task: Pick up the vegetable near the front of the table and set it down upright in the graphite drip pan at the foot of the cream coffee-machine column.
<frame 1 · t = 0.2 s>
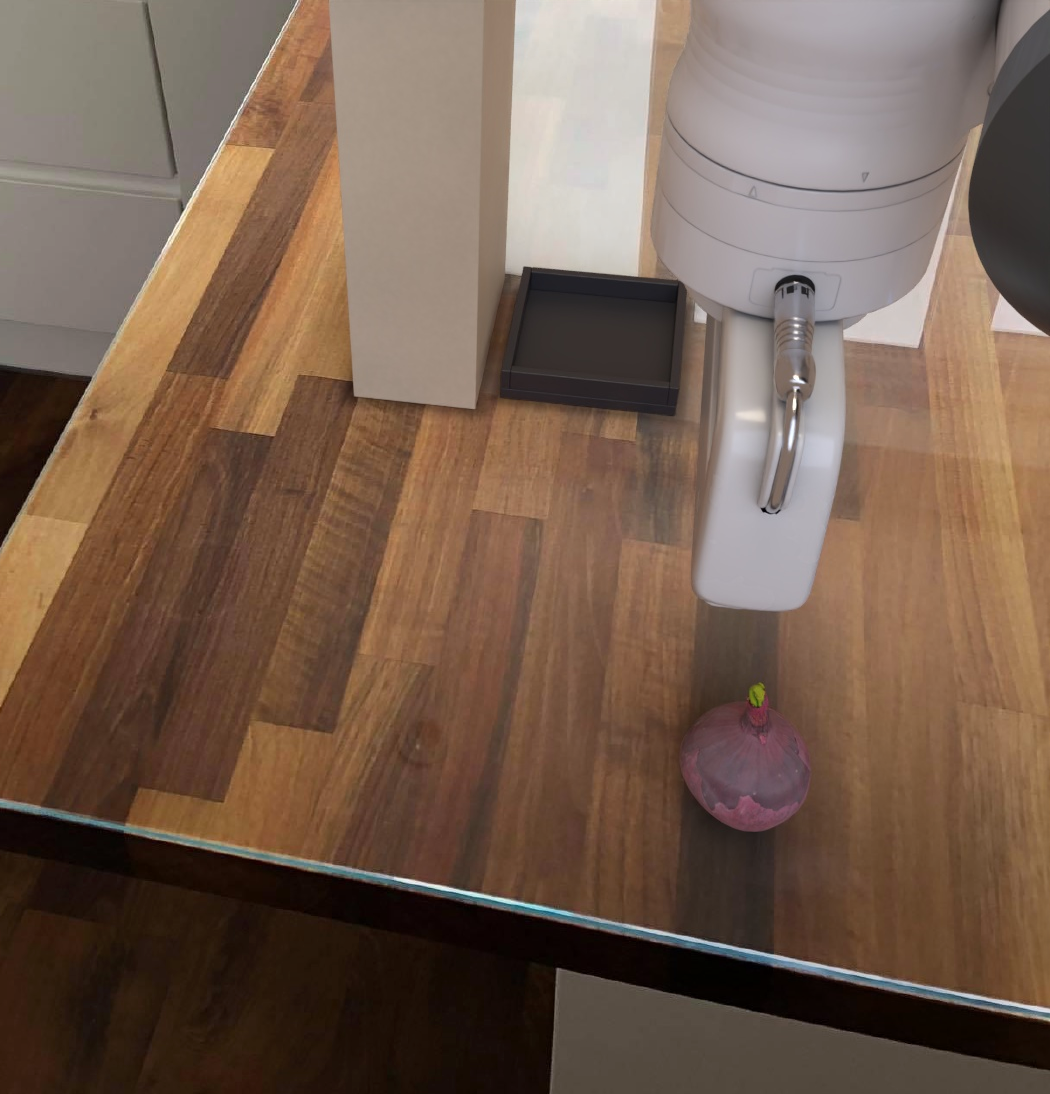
hand: (730, 501, 53), 21 cm above the counter, tool pointing down, fingers open, 8 cm apart
machine column: (432, 335, 94), on the counter
drip pan: (594, 351, 92), on the counter
vegetable: (732, 809, 68), on the counter
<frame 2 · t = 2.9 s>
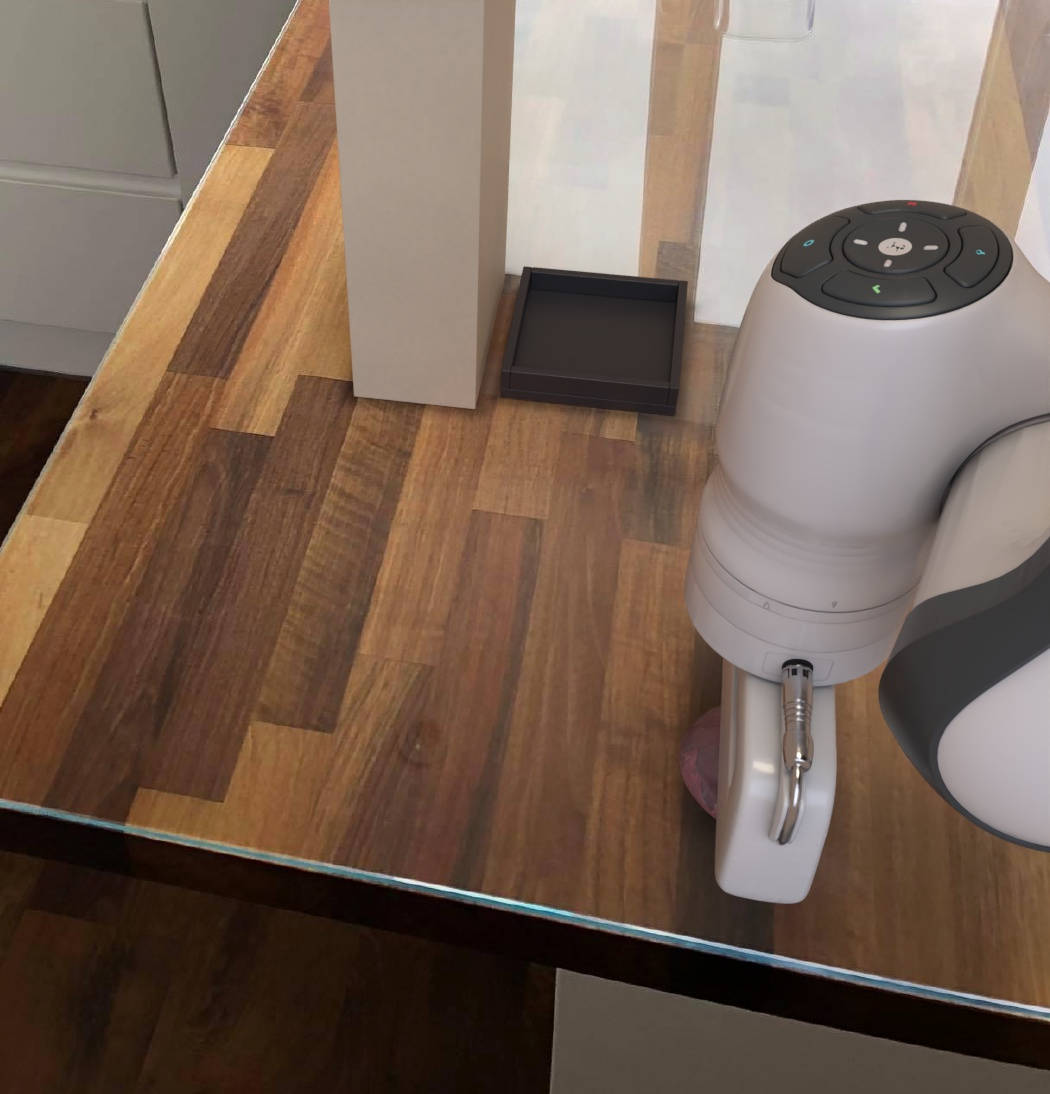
hand: (743, 766, 65), 4 cm above the counter, tool pointing down, fingers closed on vegetable, 6 cm apart
vegetable: (731, 809, 68), on the counter, touching gripper
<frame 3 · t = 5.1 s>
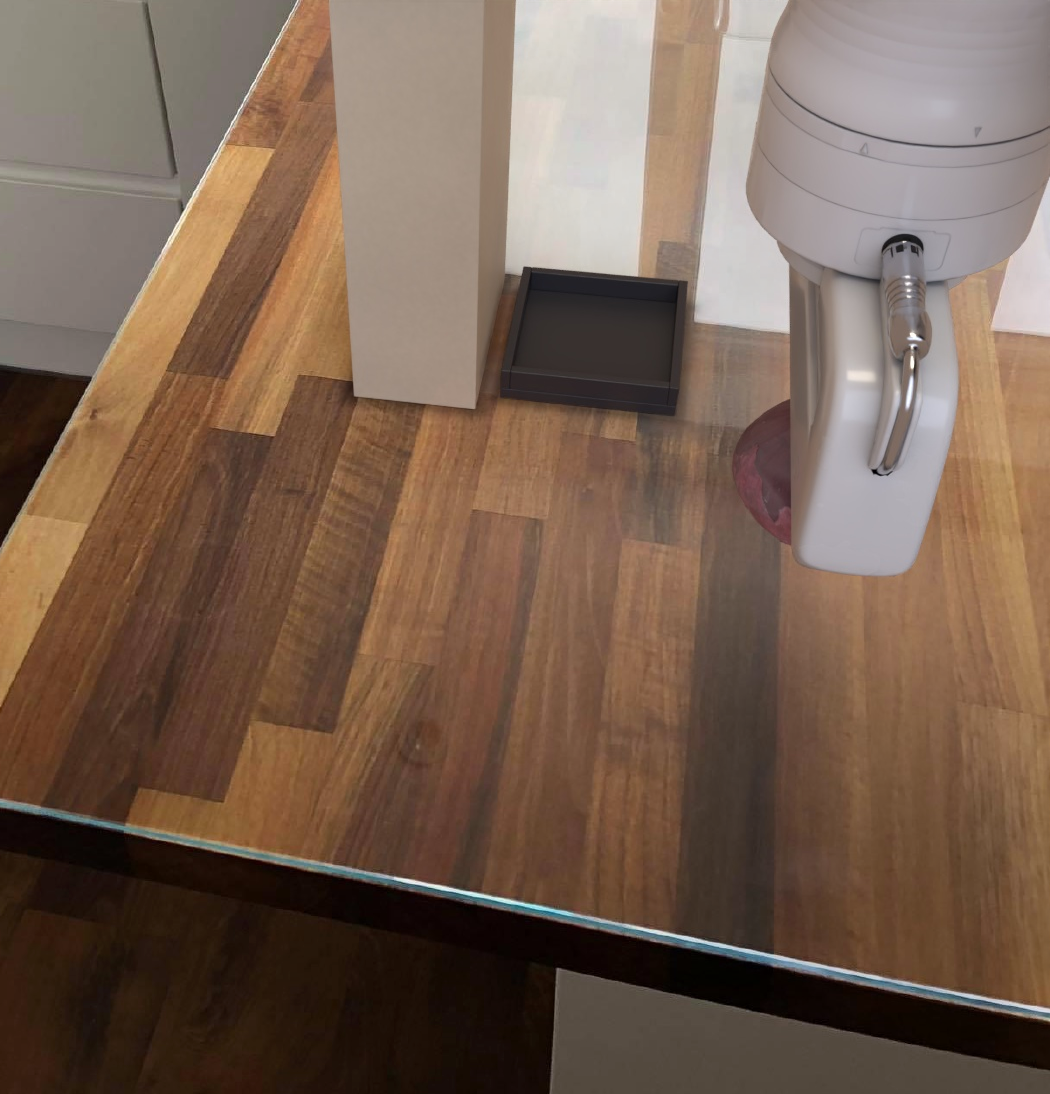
hand: (813, 473, 53), 22 cm above the counter, tool pointing down, fingers closed on vegetable, 6 cm apart
vegetable: (796, 542, 56), point 18 cm above the counter, touching gripper
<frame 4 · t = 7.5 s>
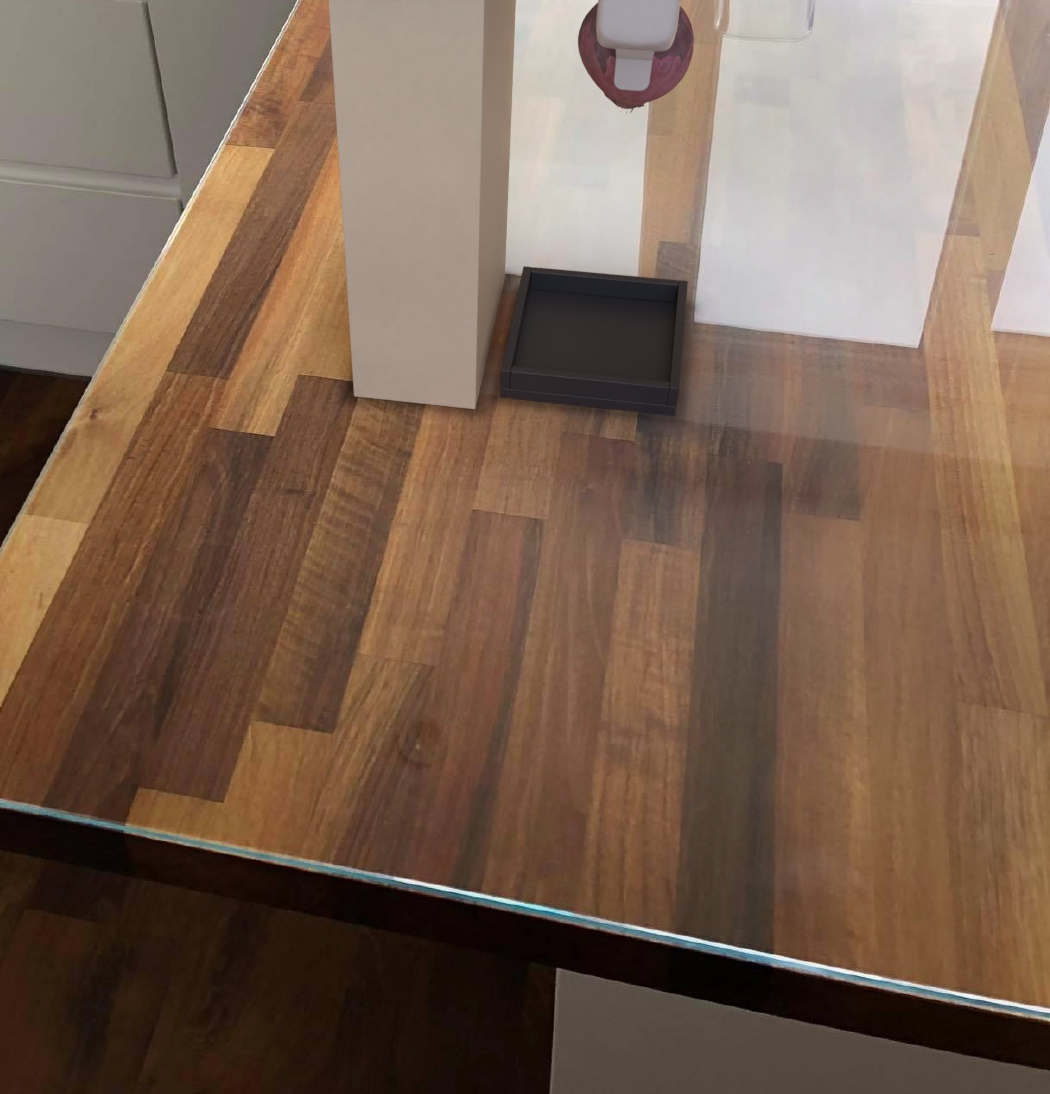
hand: (636, 46, 73), 23 cm above the counter, tool pointing down, fingers closed on vegetable, 6 cm apart
vegetable: (628, 112, 76), point 19 cm above the counter, touching gripper
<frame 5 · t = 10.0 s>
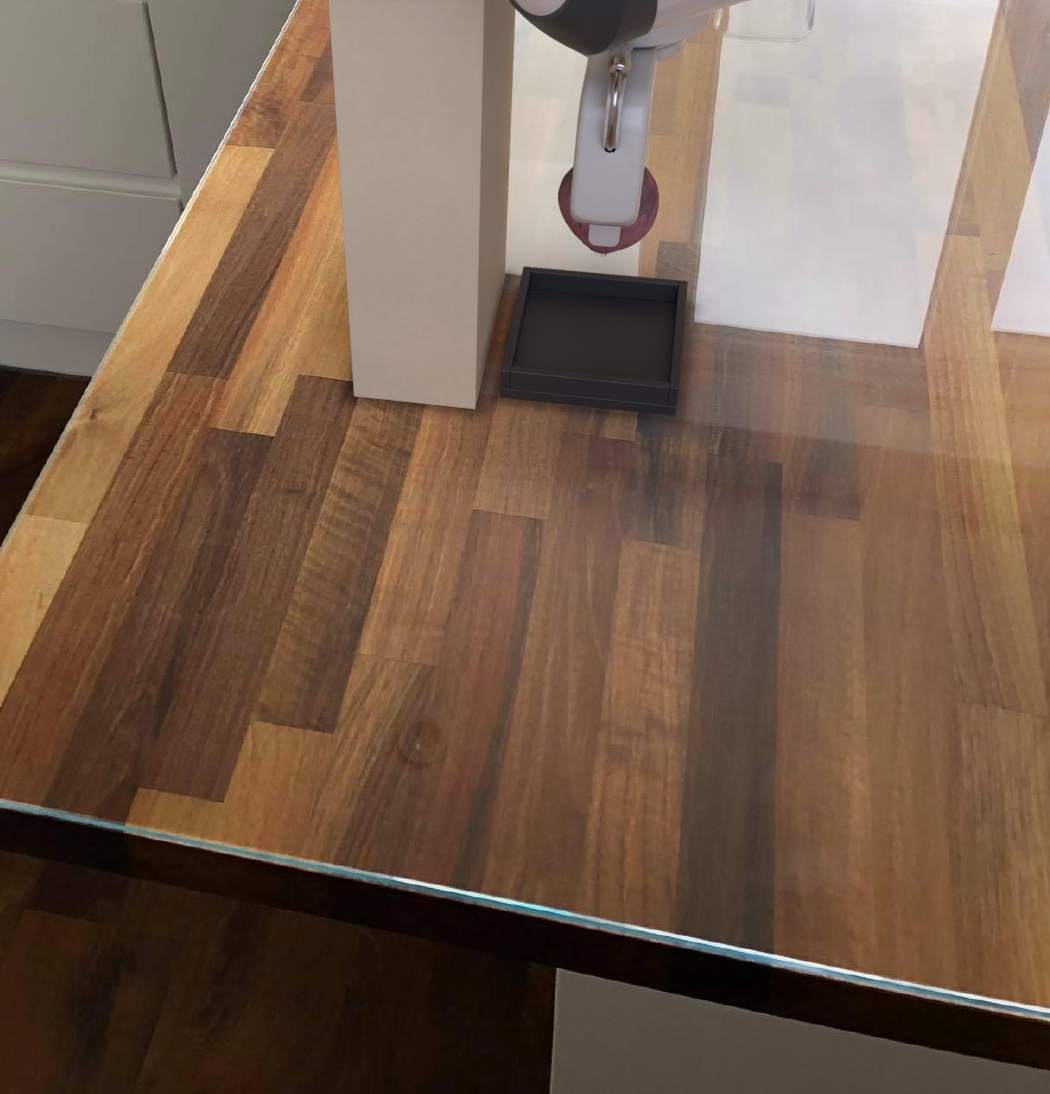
hand: (609, 202, 83), 12 cm above the counter, tool pointing down, fingers closed on vegetable, 6 cm apart
vegetable: (603, 255, 86), point 8 cm above the counter, touching gripper
when the fingers open (4 cm above the counter, at t = 12.2 s): vegetable stays where it is, resting on drip pan.
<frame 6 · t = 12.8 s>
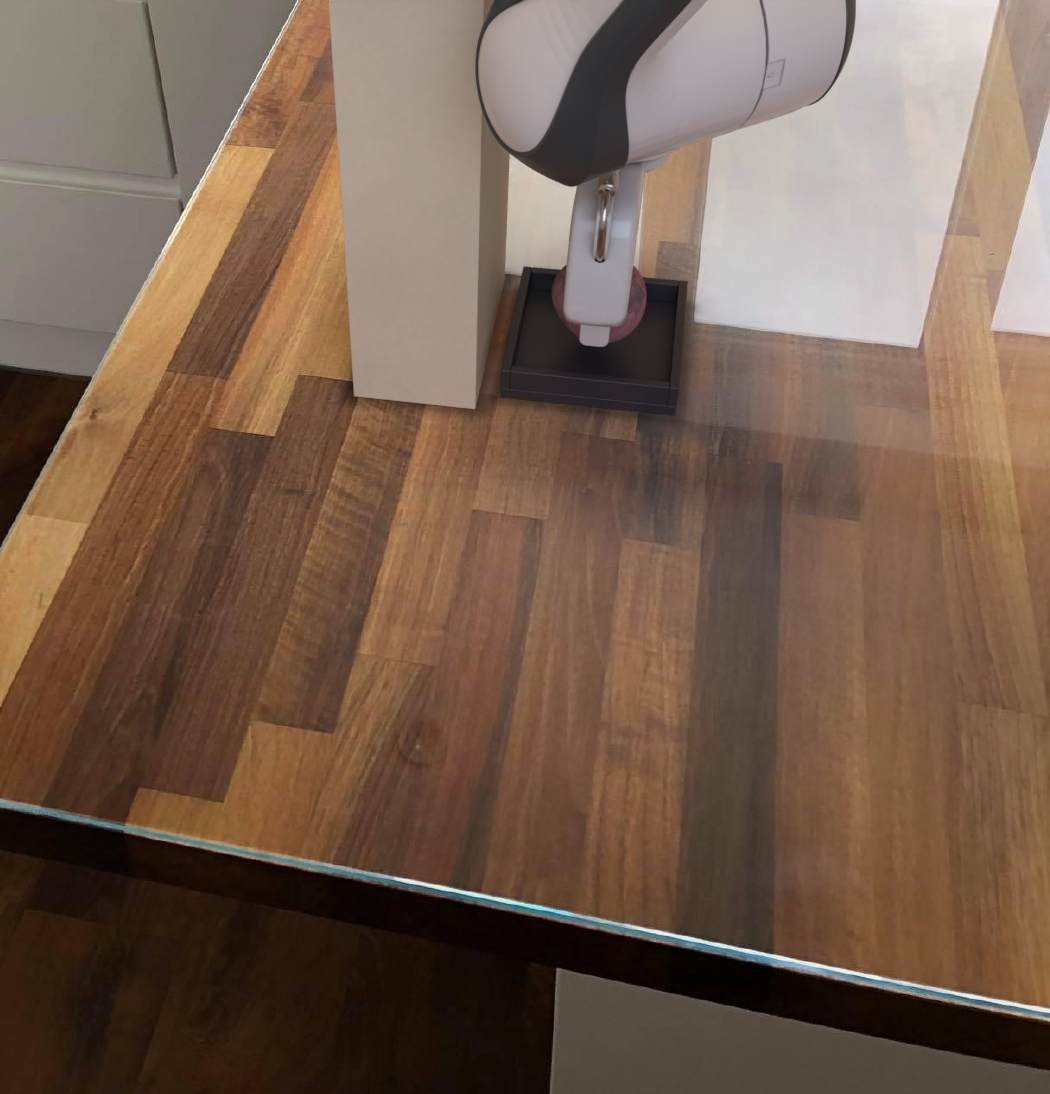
hand: (601, 292, 88), 5 cm above the counter, tool pointing down, fingers open, 8 cm apart
vegetable: (594, 345, 92), point 1 cm above the counter, touching drip pan
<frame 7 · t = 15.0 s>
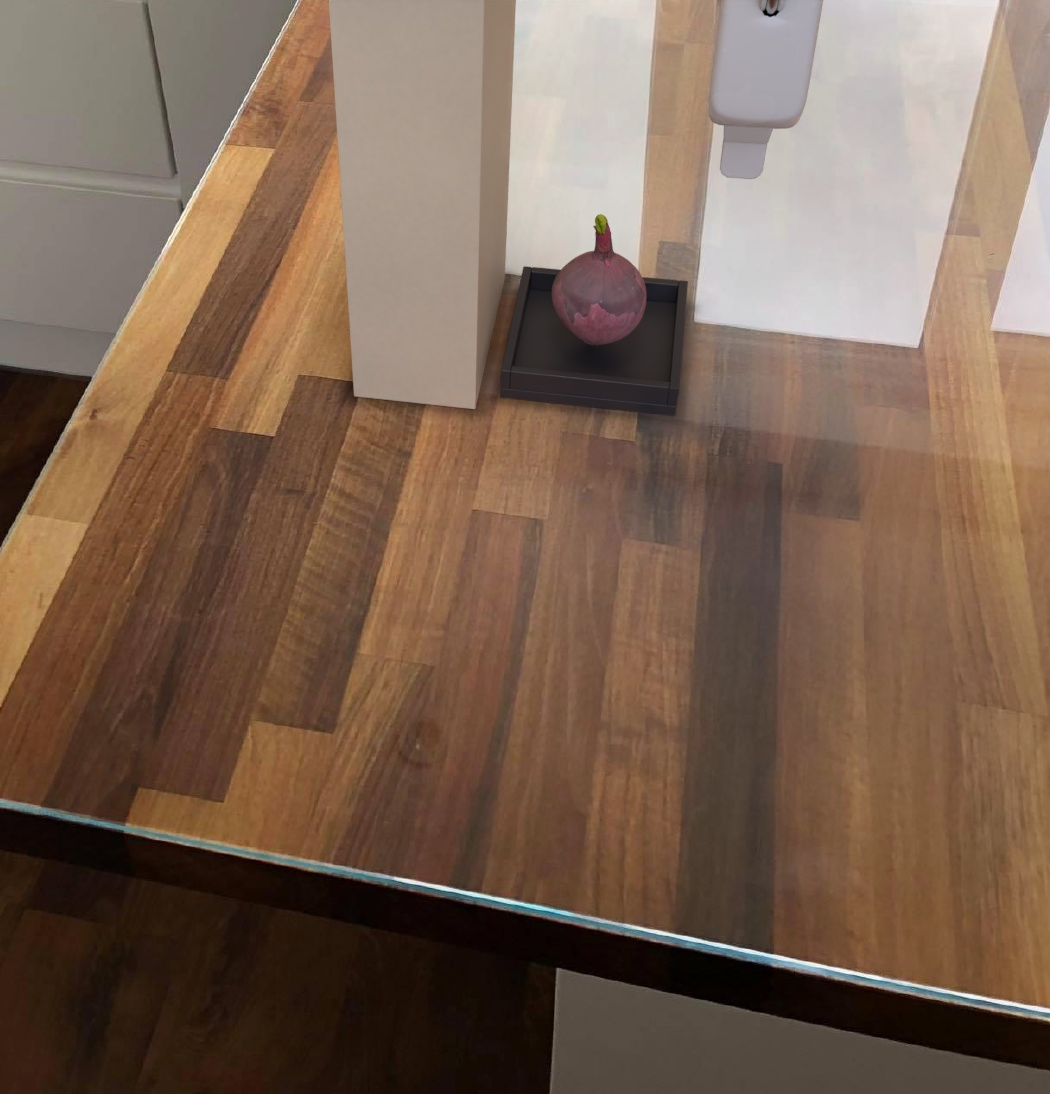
hand: (743, 113, 63), 26 cm above the counter, tool pointing down, fingers open, 8 cm apart
nothing on the counter moved.
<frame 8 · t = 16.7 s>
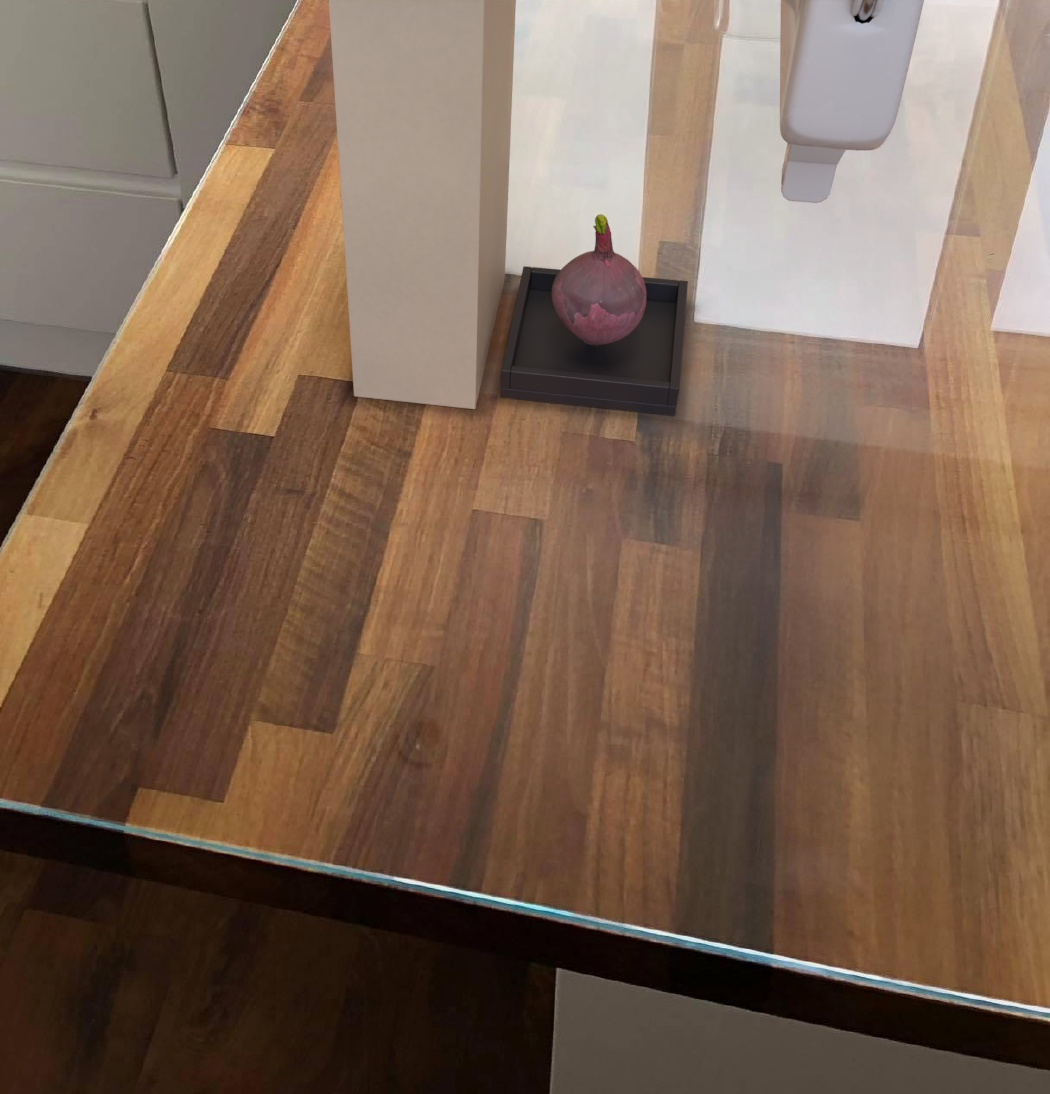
hand: (802, 127, 56), 29 cm above the counter, tool pointing down, fingers open, 8 cm apart
nothing on the counter moved.
at the end: vegetable inside the target area in the drip pan (0.1 cm from its centre), point 0.6 cm above the drip pan's base; vegetable tilted 0°; the gripper is holding nothing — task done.
